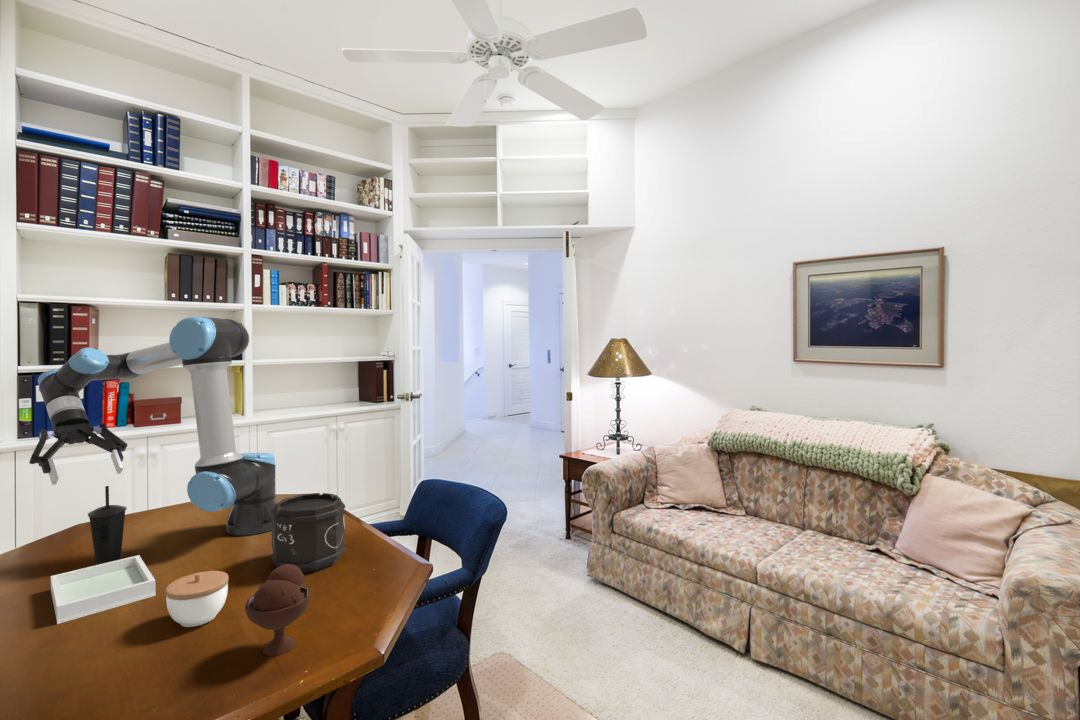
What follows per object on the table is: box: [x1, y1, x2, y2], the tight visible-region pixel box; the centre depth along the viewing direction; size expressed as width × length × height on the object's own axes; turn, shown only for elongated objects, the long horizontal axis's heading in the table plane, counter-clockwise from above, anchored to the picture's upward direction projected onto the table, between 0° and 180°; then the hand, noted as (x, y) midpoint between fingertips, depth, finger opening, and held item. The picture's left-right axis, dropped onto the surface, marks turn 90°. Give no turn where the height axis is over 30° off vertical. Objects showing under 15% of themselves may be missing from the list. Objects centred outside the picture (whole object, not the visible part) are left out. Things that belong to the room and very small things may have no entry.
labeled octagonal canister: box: [270, 492, 347, 574], centre depth 132 cm, size 18×18×16 cm
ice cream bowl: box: [244, 564, 311, 657], centre depth 93 cm, size 11×11×15 cm
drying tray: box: [50, 554, 157, 625], centre depth 114 cm, size 20×16×4 cm
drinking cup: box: [87, 485, 128, 565], centre depth 130 cm, size 8×8×20 cm
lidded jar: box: [165, 570, 229, 628], centre depth 103 cm, size 11×11×9 cm
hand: (89, 476), depth 135 cm, fingers open, 13 cm apart
